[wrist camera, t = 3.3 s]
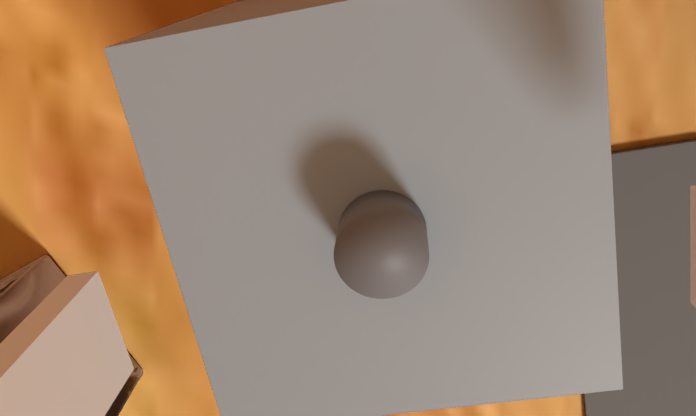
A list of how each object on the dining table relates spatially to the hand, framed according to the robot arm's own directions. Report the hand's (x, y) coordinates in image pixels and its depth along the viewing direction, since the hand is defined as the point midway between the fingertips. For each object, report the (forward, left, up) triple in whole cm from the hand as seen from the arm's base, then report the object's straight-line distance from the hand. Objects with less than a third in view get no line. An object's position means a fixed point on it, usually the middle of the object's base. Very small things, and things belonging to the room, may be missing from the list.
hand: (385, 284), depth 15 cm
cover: (0, 0, -18) cm, 18 cm away
